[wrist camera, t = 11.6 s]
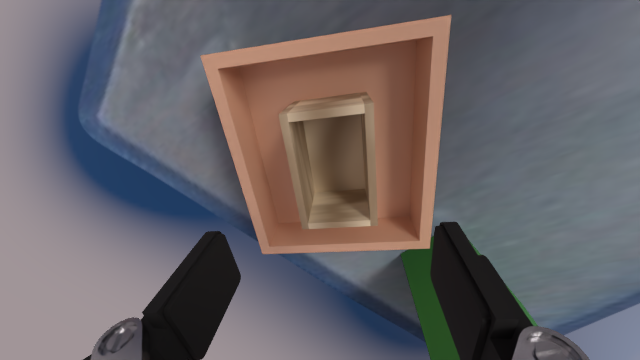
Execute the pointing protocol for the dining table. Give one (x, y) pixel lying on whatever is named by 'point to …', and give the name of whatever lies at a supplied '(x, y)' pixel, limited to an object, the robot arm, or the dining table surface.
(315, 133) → the pine crate
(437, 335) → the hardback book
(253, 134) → the terracotta crate
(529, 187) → the dining table surface
